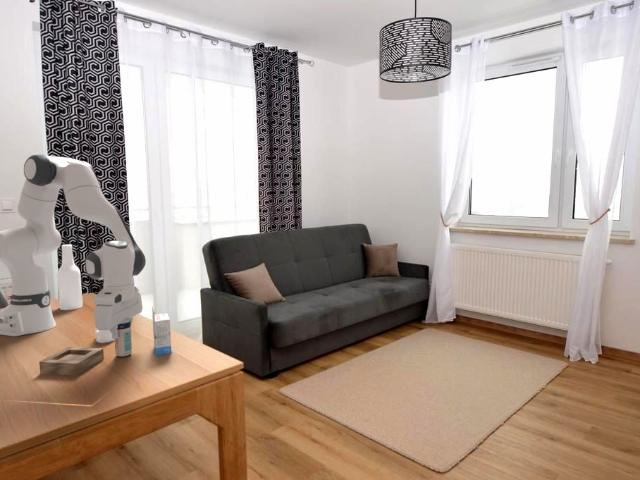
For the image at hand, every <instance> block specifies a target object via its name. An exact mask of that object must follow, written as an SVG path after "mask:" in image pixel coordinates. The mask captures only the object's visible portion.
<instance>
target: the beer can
mask: <svg viewBox="0 0 640 480" xmlns="http://www.w3.org/2000/svg"><path fill="white" fill-rule="evenodd" d="M117 331H118V332H120V337H119V338H117V339H115V340H114V349H115V351H114V352H115V356H117V357H121V358H122V357H127V356H129V355H131V354H132V352H133V346H132V324H131V321H130V319H129V317H128V318H127V319H124V321H123V322H122V323H120V324H118V328H117Z"/></svg>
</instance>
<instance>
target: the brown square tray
mask: <svg viewBox="0 0 640 480" xmlns="http://www.w3.org/2000/svg"><path fill="white" fill-rule="evenodd" d="M104 353H105V351H104V347H79V346H67V347H65V348H63V349H62V350H60V351H58V352H56V353H54V354H52V355H50V356H48V357H46V358H44V359H42V360H40V361H39V363H38V364H39V375H40V374H41V375H60V376H61V375H62V376H77V377H78V376H80V375H81V374H83V373H85V372H87V370H89V369H91V368H92V367H94V366H95V365H96V364H98V363H100V362H101V361H103V360H104V358H105V355H104Z"/></svg>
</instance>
